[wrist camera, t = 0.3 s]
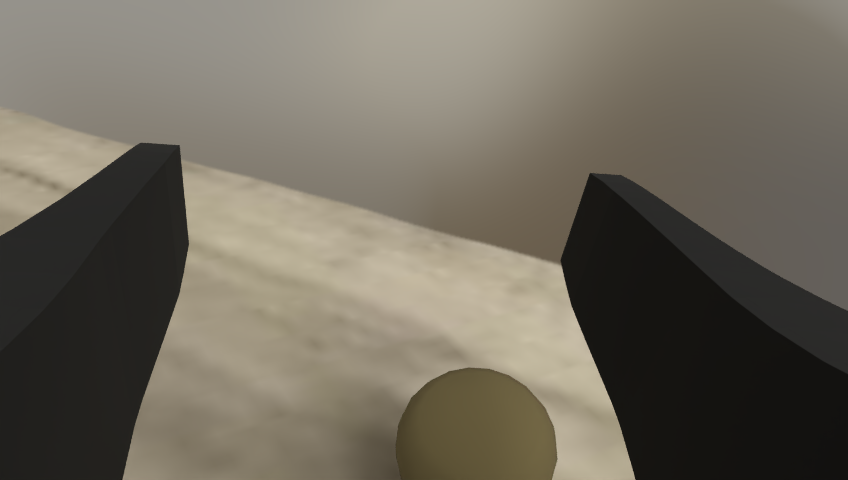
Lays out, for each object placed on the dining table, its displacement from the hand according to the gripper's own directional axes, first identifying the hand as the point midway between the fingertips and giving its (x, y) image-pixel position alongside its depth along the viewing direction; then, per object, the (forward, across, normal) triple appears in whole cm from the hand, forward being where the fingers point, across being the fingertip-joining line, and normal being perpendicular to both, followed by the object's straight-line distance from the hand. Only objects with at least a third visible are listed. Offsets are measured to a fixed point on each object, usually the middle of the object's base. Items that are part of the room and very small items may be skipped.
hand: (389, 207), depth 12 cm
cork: (+3, -5, +20) cm, 21 cm away
